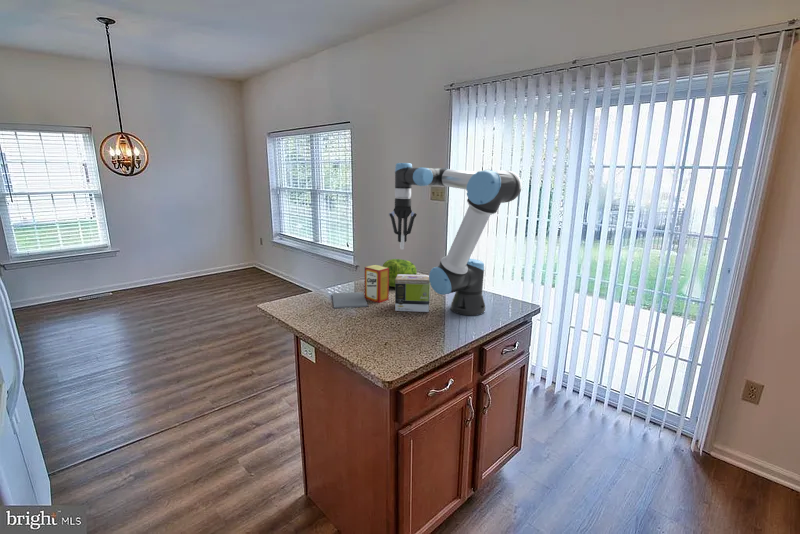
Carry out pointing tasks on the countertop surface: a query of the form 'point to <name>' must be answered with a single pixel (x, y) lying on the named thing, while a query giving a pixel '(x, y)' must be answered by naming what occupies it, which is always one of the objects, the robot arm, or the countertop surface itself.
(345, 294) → the mat
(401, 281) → the tea box
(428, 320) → the countertop surface
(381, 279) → the baking soda box
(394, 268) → the lettuce
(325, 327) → the countertop surface
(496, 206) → the robot arm
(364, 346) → the countertop surface
